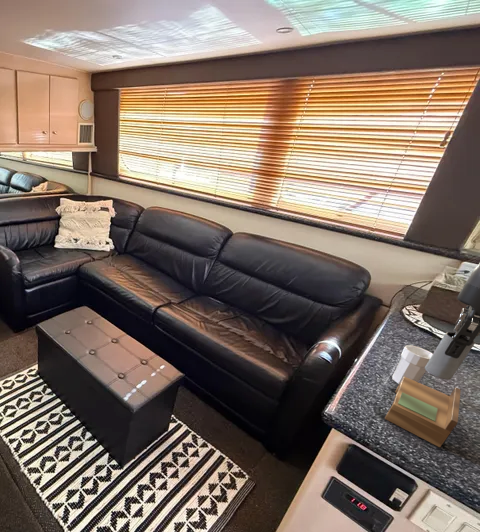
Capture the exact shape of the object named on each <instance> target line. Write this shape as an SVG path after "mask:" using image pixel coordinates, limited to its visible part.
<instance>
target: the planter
mask: <svg viewBox="0 0 480 532" xmlns="http://www.w3.org/2000/svg"><path fill="white" fill-rule="evenodd" d="M454 335H455V333H454V332H453V331H447V332H445V334H444V335H443V337H442V338H441V340H440V342H439V344H438V345H437V347H436V348H435V350H434V352H432V354H433V355H432V356H431V358H430V360H429V361H428V363H427V365H426V366H425V370H426V372H427V373H429V374H431V375H432V376H434V377H435V378H439V379H442V380H451V379H453V377H454V376H455V374H456V372H457V371H458V370H459V368H460V367H461V365H462V364H463V362H464V360H465V359H466V357H467V356H468V355H469V353H470V351H471V350H472V349H473V347H474V345H475V344H476V342H475V340H473V342H472V344H471V345H470V346H466V347H465V349H464V350H463V352H462V354H461V355H460V357H459V358H457V359H456V358H453V357H450V356H447V355H445V351H446V349H447V347H448V346H449V344H450V343H451V341H452V337H454ZM459 337H461V338H464V339H468V337H466V336H463V335H460V336H459Z"/></svg>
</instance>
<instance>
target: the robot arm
mask: <svg viewBox="0 0 480 532" xmlns="http://www.w3.org/2000/svg"><path fill="white" fill-rule="evenodd" d="M457 300H458V301H459V302H461V304H464V305H465V308H464V307H463V308H462V309H461V311H460V313H459V316H458V318H457V320H456V321H455V325H454V326H455V327H454V329H453V331H452V332H453V333H455V335H454V337H452V341H451V343H450V344H449V346H448V347H447V349H446V351H445V355H447V356H450V357H453V358H456V359H457V358H459V357H460V355H461V354H462V352H463V350H464V349H465V347H466V346H470V345H471V344H472V342H473V341H475V339H476V337H478V336H479V335H480V262H479V263H478V264H477V266H475V267H474V269H473V270H472V272H471V273H470V275H469V276H468V278H467V280H466V282H465V283H464V285H463V287H461V290H460V291H459V293H458V295H457ZM460 335H463V336H466V337H468V339H464V338H461V337H459V336H460Z"/></svg>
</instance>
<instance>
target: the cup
mask: <svg viewBox="0 0 480 532" xmlns="http://www.w3.org/2000/svg"><path fill="white" fill-rule="evenodd" d="M432 355H433V352H431V351H428V350H427V349H425V348H422V347H419V346H416V345H410V344H407V345H405V346H404V347H403V350H402V352H401V354H400V356H401V357H400V359H399V362H398V363H397V366H396V368H395V370H394V372H393V374H392V375H391V379H392V381H394V382H395V383H397V384H398V385H399V384H400V382H401V381H402V379H403V377H407V378H409V379H411V380H414V381H416V382H418V383H419V382H420V380H421V379H422V377H423V376H424V375H425V374H426V372H427V371H426V370H425V366H426V365H427V363H428V361H429V360H430V358H431V356H432Z"/></svg>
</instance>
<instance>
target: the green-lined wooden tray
mask: <svg viewBox="0 0 480 532" xmlns="http://www.w3.org/2000/svg"><path fill="white" fill-rule="evenodd" d="M461 392H462V390H461V388H458V387H454V388H453V390H452V391H451V393H450V395H448V394H445V393H444V392H441V391H439V390H436V389H434V388H432V387H429V386H427V385H425V384H423V383H420V382H419V381H418V382H416V381H414V380H411V379H409V378H407V377H403V379H402V381H401V382H400V384H398V385H397V387H396V390H395V391H394V393H395V394H396V395H395V396H394V399H393V402H392V404H391V407H389V409H388V411H387V413H386V415H385V416H384V420H386V421H388V422H390V423H392V424H394V425H396V426H397V427H399V428H402V429H403V430H405V431H407V432H409V433H411V434H413V435H415V436H417V437H418V438H421V439H423V440H424V441H427V442H429V443H430V444H432V445H434V446H436V447H438V448H441V447H442V445H443V444H444V443H445V441H446V440H447V438H448V437H449V436H450V434H451V433H452V431H453V430H454V429H455V427H456V426H457V425H458V424H459V416H460V415H459V414H460V403H461Z"/></svg>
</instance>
